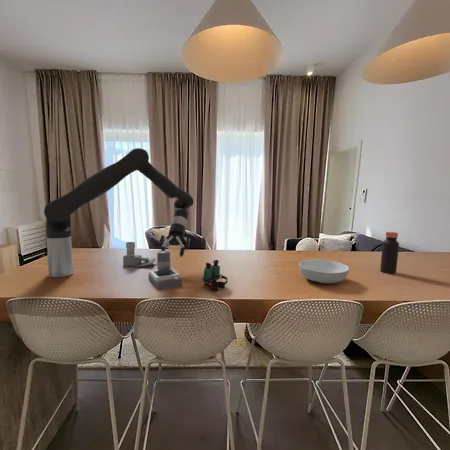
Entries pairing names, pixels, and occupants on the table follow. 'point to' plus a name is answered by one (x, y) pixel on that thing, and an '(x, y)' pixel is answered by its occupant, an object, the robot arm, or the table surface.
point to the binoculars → (213, 277)
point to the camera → (134, 257)
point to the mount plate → (165, 279)
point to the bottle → (389, 253)
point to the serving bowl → (323, 270)
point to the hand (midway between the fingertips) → (171, 255)
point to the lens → (163, 263)
